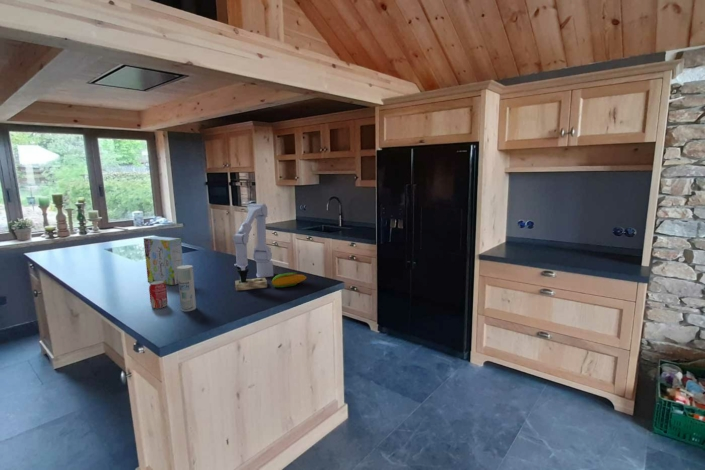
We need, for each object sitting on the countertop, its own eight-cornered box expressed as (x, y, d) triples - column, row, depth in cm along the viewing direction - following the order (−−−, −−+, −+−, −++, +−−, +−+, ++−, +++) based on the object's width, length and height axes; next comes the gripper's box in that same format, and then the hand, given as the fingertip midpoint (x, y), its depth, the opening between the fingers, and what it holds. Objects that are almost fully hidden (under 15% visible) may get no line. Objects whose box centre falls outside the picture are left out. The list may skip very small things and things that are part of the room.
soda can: (155, 304, 178) (152, 280, 176) (170, 303, 178) (168, 279, 176) (148, 309, 171) (145, 284, 169) (164, 309, 171) (161, 284, 169)
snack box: (186, 282, 214) (182, 237, 210) (173, 286, 206) (168, 240, 202) (159, 277, 223) (155, 235, 219) (146, 281, 215) (141, 237, 211)
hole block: (265, 283, 209) (265, 277, 209) (267, 287, 202) (266, 281, 201) (235, 286, 204) (235, 280, 203) (236, 291, 196) (235, 284, 196)
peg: (241, 287, 203) (240, 271, 202) (247, 287, 203) (246, 271, 201) (239, 288, 200) (238, 272, 199) (245, 289, 200) (244, 272, 198)
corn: (269, 273, 202) (303, 268, 212) (269, 286, 204) (303, 280, 214) (273, 277, 196) (308, 272, 206) (273, 291, 198) (308, 285, 207)
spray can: (198, 306, 175) (194, 264, 171) (193, 311, 168) (189, 268, 165) (184, 306, 175) (180, 265, 171) (178, 311, 168) (174, 268, 165)
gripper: (233, 253, 204) (234, 277, 206) (234, 259, 190) (236, 284, 193) (246, 252, 206) (247, 276, 209) (248, 258, 193) (250, 283, 195)
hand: (243, 280), depth 201 cm, fingers open, 7 cm apart
